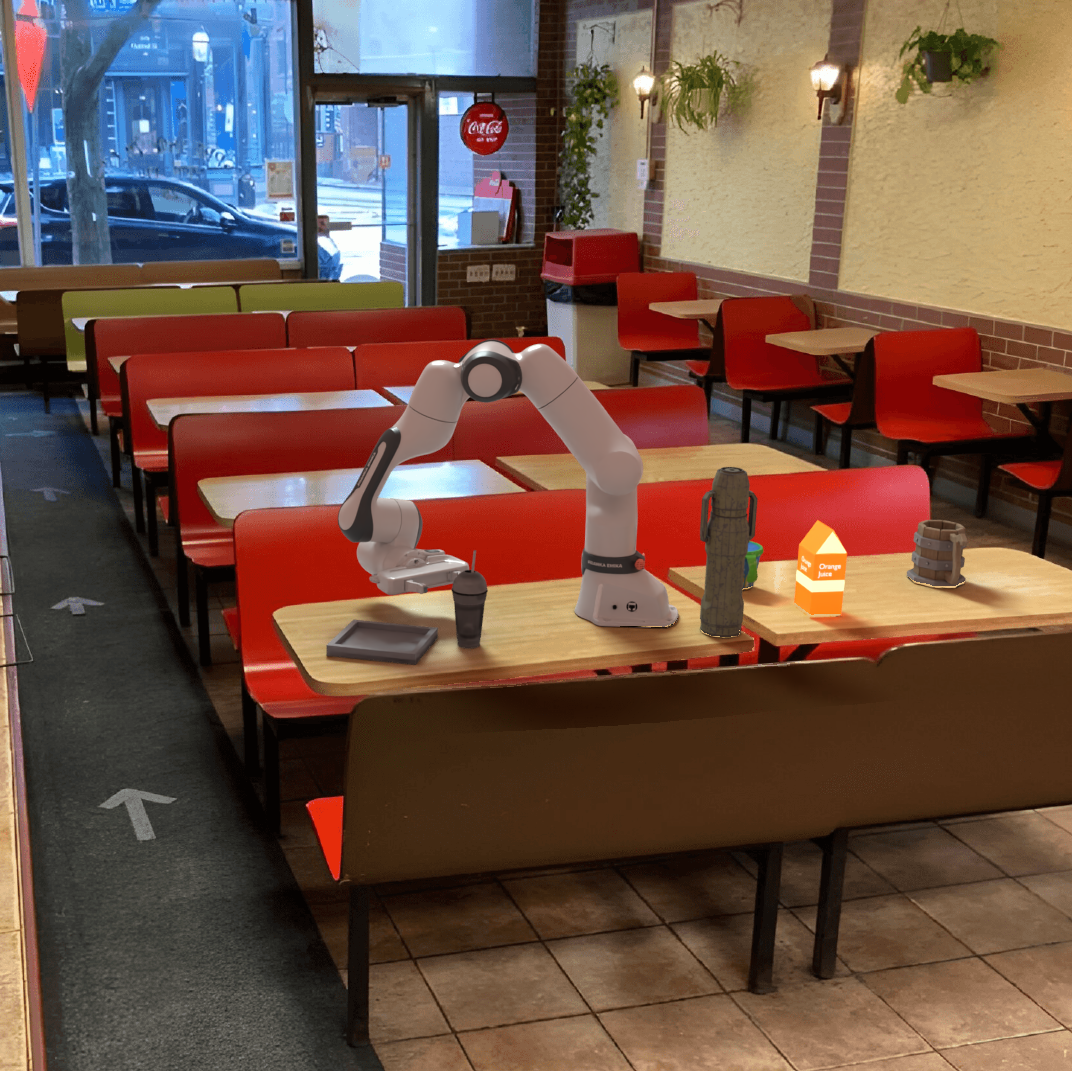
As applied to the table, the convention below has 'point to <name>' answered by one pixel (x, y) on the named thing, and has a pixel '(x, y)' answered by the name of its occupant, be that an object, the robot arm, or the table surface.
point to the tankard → (938, 553)
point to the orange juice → (820, 571)
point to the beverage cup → (469, 606)
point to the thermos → (726, 550)
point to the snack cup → (751, 564)
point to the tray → (382, 642)
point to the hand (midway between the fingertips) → (444, 585)
